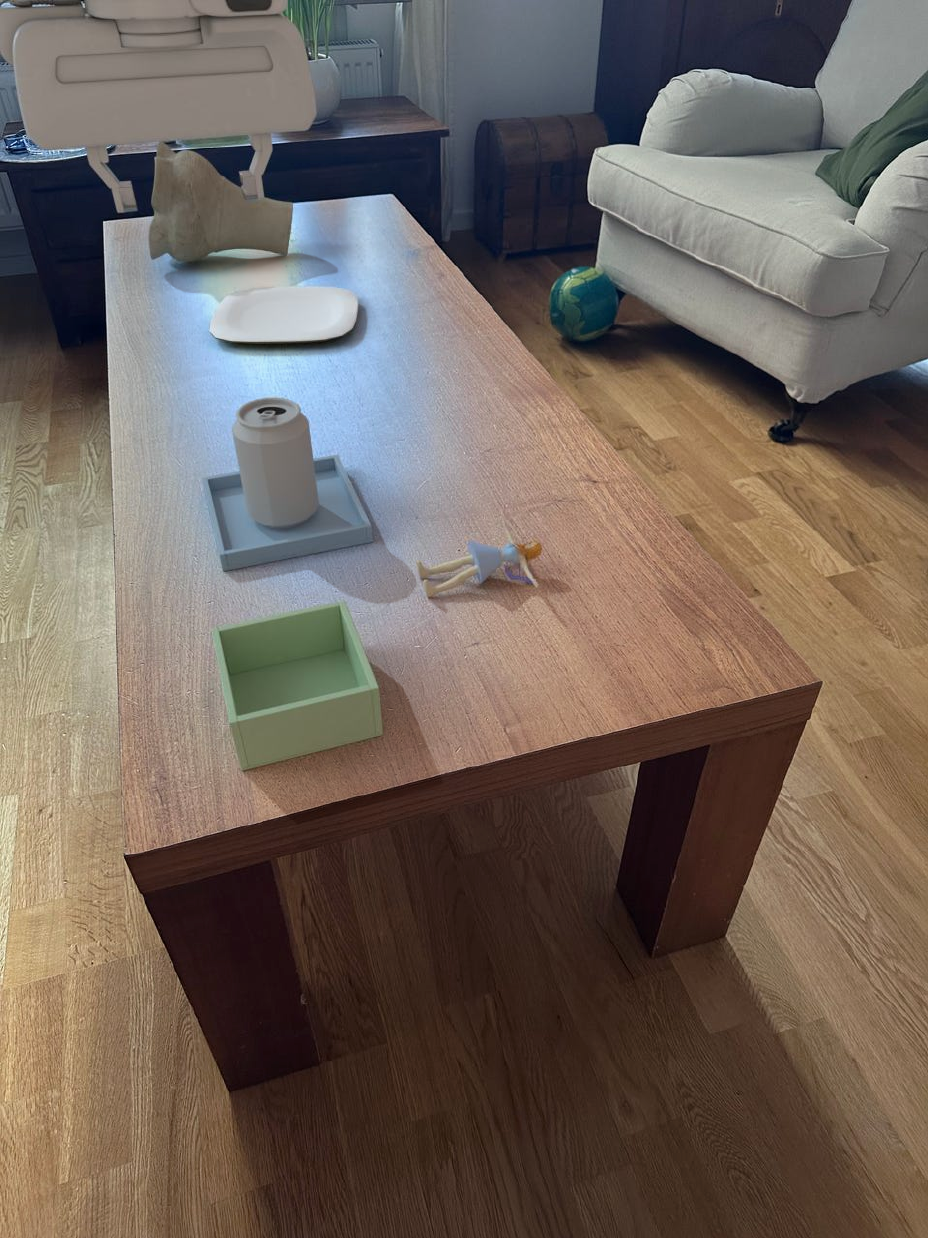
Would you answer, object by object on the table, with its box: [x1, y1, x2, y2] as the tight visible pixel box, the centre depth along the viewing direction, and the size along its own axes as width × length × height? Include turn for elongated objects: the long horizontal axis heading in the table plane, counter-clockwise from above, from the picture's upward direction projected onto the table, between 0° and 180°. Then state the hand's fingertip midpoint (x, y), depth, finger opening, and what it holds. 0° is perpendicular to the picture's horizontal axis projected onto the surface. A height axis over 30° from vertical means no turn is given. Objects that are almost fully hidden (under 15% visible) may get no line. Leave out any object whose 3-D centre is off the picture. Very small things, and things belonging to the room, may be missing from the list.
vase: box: [147, 141, 294, 263], centre depth 151 cm, size 22×22×28 cm
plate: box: [208, 285, 360, 345], centre depth 134 cm, size 22×22×2 cm
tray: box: [201, 454, 374, 572], centre depth 93 cm, size 15×15×2 cm
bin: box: [210, 599, 384, 772], centre depth 71 cm, size 11×11×5 cm
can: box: [231, 396, 319, 529], centre depth 90 cm, size 8×8×12 cm
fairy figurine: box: [416, 516, 543, 598], centre depth 84 cm, size 12×5×12 cm
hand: (191, 204), depth 67 cm, fingers open, 8 cm apart
